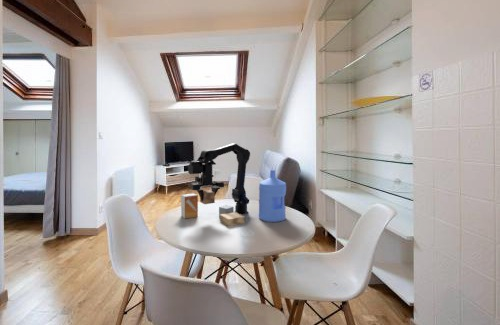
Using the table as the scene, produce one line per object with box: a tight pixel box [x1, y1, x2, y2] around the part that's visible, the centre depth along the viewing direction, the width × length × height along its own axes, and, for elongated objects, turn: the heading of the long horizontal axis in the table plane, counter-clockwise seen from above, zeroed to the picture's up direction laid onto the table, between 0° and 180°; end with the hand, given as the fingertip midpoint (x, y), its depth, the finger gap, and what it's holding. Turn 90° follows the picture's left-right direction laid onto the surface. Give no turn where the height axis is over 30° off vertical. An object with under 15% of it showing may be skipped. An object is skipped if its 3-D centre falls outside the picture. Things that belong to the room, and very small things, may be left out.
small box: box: [180, 193, 199, 219], centre depth 150 cm, size 8×6×13 cm
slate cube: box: [218, 204, 235, 218], centre depth 151 cm, size 6×6×6 cm
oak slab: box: [219, 211, 245, 227], centre depth 141 cm, size 10×10×4 cm
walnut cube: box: [199, 190, 216, 205], centre depth 143 cm, size 6×6×6 cm
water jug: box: [258, 169, 287, 223], centre depth 147 cm, size 16×16×28 cm
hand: (207, 200), depth 143 cm, fingers closed on walnut cube, 6 cm apart
